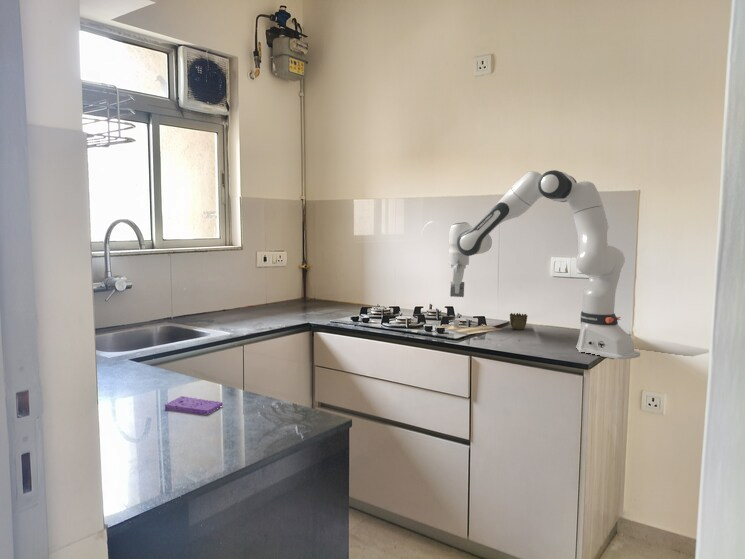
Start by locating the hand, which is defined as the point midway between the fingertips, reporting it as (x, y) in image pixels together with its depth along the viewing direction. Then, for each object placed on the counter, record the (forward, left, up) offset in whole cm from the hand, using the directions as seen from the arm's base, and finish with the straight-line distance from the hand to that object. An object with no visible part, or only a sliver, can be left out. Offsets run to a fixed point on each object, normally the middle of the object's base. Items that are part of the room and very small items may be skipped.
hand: (457, 292), depth 247 cm
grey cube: (0, 0, -2) cm, 2 cm away
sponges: (-42, +127, -18) cm, 135 cm away
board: (-4, -4, -17) cm, 18 cm away
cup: (-17, -20, -17) cm, 31 cm away
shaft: (0, 0, -15) cm, 15 cm away
